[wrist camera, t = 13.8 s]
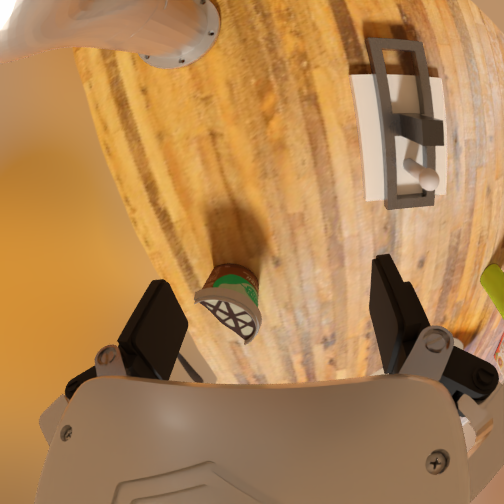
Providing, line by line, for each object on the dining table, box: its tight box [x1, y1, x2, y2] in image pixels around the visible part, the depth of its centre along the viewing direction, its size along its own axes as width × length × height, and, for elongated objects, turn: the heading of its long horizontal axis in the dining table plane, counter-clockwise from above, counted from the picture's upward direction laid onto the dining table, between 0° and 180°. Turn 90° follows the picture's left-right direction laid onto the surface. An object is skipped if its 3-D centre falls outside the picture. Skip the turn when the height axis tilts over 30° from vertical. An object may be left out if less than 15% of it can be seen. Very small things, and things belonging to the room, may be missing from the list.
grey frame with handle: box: [365, 38, 444, 210], centre depth 26 cm, size 24×8×8 cm, turn 12°
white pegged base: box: [349, 74, 447, 202], centre depth 27 cm, size 18×14×9 cm
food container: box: [194, 264, 262, 345], centre depth 44 cm, size 12×6×10 cm, turn 40°
